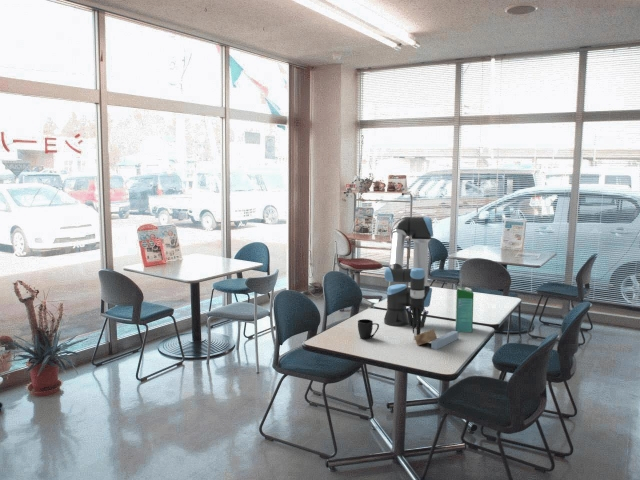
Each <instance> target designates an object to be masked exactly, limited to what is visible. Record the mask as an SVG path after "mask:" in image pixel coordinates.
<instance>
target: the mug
mask: <svg viewBox="0 0 640 480" xmlns="http://www.w3.org/2000/svg"><path fill="white" fill-rule="evenodd" d="M373 325H376V326H377V327H376V329H375V332H374V333H373V334H372V332H373ZM379 327H380V324H379V323H376V322H375V323H374V322H373V320H371V319H368V318H367V319H366V318H365V319H364V318H363V319H359V320H357V330H358V331H357V332H358V335H359V338H360V339H361V340H370V339H372V338H374V336H375V335H376V333H377V332H378V330H379Z"/></svg>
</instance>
